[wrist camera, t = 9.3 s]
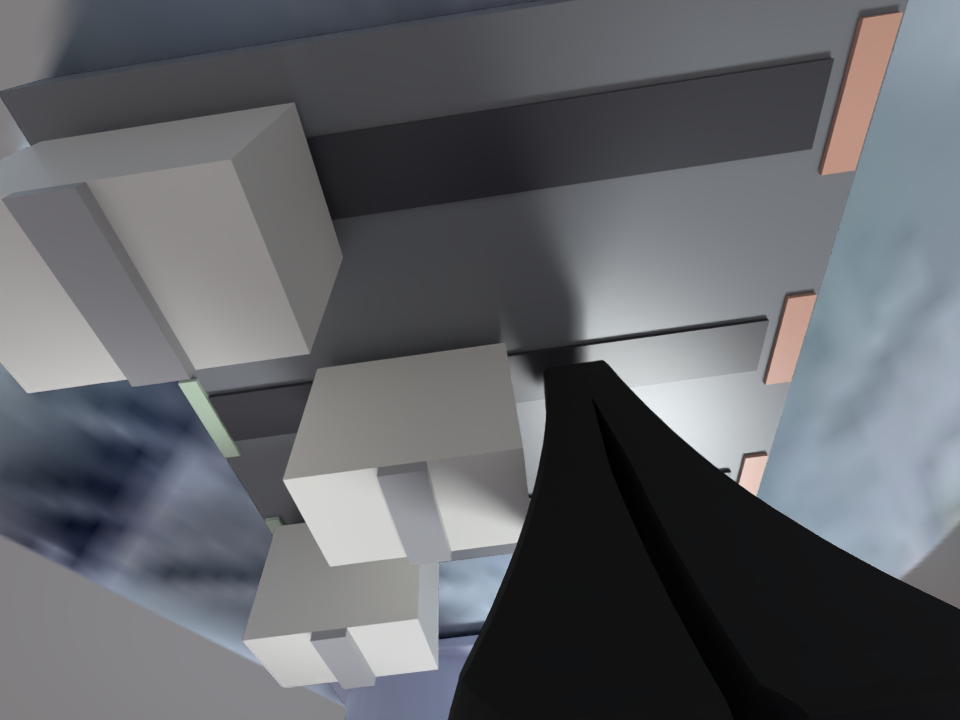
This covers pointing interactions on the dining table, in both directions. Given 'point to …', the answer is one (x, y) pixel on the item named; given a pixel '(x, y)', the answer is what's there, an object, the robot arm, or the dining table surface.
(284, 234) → the block
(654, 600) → the robot arm
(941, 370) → the dining table surface
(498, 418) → the block
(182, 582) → the dining table surface
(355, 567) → the block
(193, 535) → the dining table surface
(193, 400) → the panel
